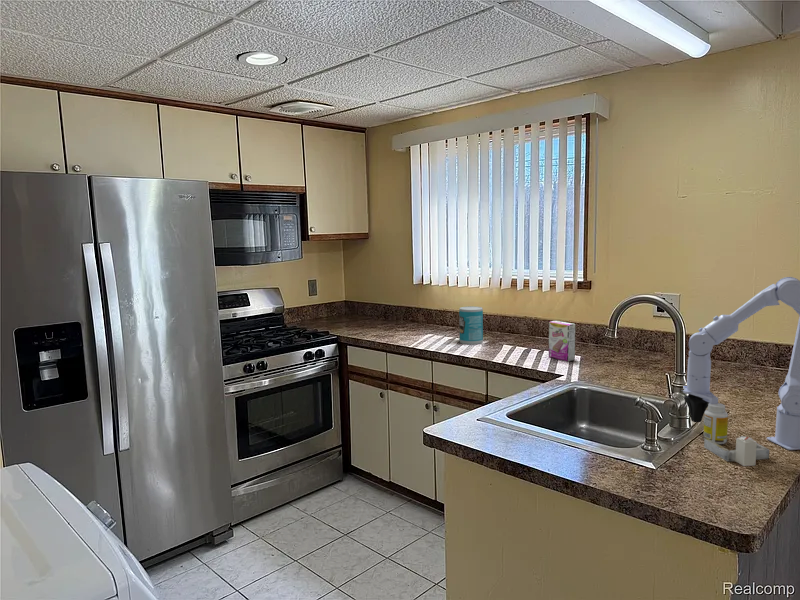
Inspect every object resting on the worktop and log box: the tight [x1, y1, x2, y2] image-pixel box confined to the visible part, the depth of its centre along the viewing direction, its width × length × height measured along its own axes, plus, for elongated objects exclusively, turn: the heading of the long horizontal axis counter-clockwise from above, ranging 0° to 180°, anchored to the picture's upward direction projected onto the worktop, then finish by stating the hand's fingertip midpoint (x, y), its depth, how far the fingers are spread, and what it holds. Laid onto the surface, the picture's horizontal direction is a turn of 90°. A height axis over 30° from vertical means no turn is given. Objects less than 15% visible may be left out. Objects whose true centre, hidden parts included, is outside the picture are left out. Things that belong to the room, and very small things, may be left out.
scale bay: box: [703, 435, 770, 463], centre depth 140 cm, size 11×9×2 cm
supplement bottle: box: [702, 402, 729, 445], centre depth 148 cm, size 6×6×10 cm
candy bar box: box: [548, 320, 576, 363], centre depth 243 cm, size 11×5×16 cm, turn 34°
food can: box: [458, 305, 484, 346], centre depth 282 cm, size 12×12×18 cm
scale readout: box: [734, 436, 758, 467], centre depth 134 cm, size 3×3×6 cm
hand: (696, 421), depth 156 cm, fingers closed
